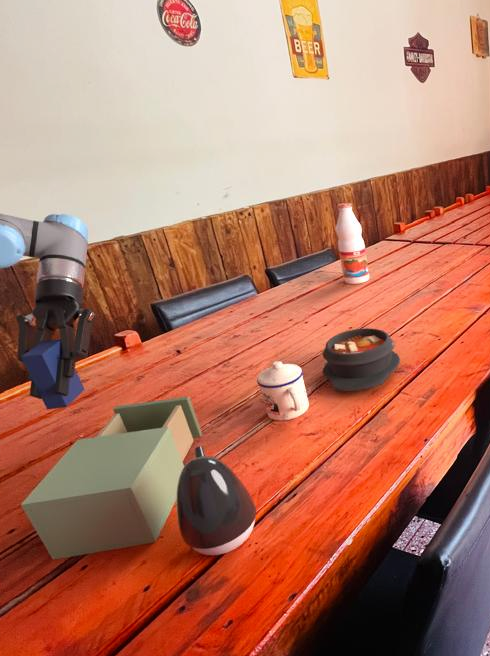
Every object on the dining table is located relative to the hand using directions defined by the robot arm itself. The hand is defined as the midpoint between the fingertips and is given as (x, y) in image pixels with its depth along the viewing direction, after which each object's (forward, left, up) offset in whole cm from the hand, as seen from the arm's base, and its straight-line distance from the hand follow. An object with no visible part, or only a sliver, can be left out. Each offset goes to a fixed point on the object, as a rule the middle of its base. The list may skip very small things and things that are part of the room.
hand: (49, 395), depth 97 cm
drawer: (+19, -9, -11) cm, 24 cm away
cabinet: (+19, -24, -12) cm, 33 cm away
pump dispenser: (+37, -34, -12) cm, 52 cm away
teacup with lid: (+42, +1, -12) cm, 44 cm away
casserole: (+57, +16, -12) cm, 61 cm away
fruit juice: (+54, +91, -12) cm, 106 cm away
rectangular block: (0, +4, -3) cm, 5 cm away
